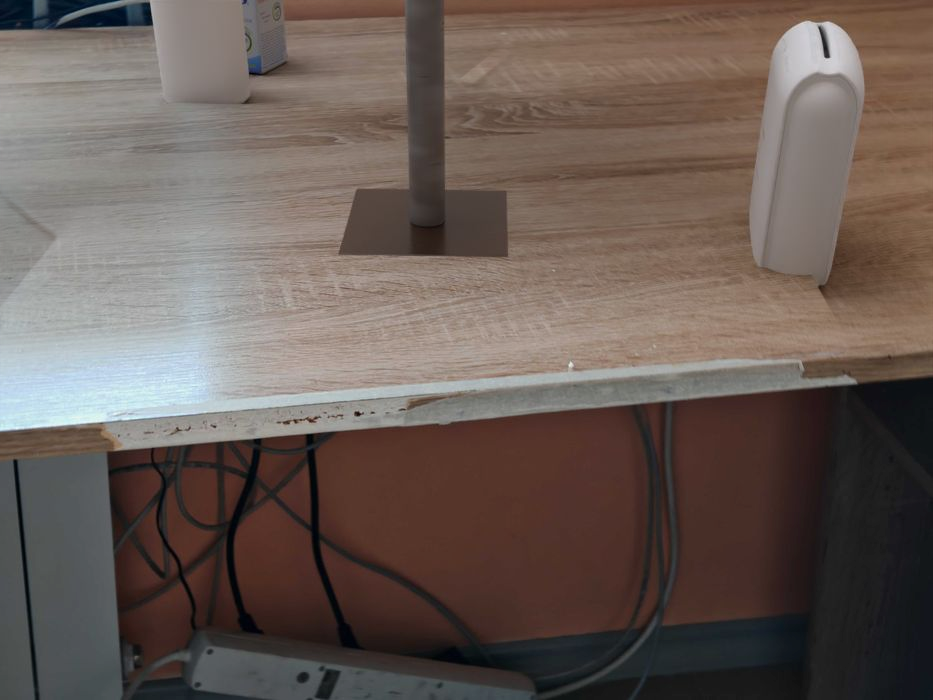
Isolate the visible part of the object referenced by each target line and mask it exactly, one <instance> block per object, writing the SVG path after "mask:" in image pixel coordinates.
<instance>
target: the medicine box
mask: <svg viewBox="0 0 933 700" xmlns="http://www.w3.org/2000/svg"><path fill="white" fill-rule="evenodd" d="M284 6H285V5H284V0H242V10H243V20H244V30H245V40H246V50H247V61H248V71H249V74H251V73H252V74H258V75H263V74H265V73H267V72H270V71H271V70H273V69H275V68H277V67H279V66H281V65H282V64H284V63H286V62H287V61H288V50H287V49H288V48H287V47H288V46H287V34H286V33H287V32H286V21H285V7H284Z"/></svg>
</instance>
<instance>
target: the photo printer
mask: <svg viewBox="0 0 933 700" xmlns="http://www.w3.org/2000/svg"><path fill="white" fill-rule="evenodd" d="M865 88H866V87H865V77H864V71H863V65H862V62H861V58H860V54H859V51H858V49H857V46H856V45H855V44H854V42H853V40H852V39H851V37H850V36H849V35H848V33H847V32H846V31H845V30H844V29H843V28H841V26H839V25H837V24H835V23H834V22H832V21H823V22H813V21H811V20H804V21H802V22H800V23H798V24H796V25H794V26H792V27H791V28H789V29H788V30H787V31H786V32H785V33H784V34H782V36H781V37H780V39H779V40H778V42H777V43H776V45H775V47H774V49H773V51H772V55H771V59H770V64H769V72H768V80H767V84H766V92H765V98H764V105H763V109H762V110H763V111H762V117H761V123H760V131H759V137H758V144H757V151H756V156H755V157H756V158H755V164H754V171H753V177H752V178H753V179H752V186H751V192H750V199H749V209H748V210H749V211H748V216H749V217H748V219H749V221H748V223H749V237H750V244H751V251H752V257H753V259H754V262H755V264H756V265H757V267H758V268H760V269H768V270H771V271H773V272H778V273H780V274H783V275H784V274H785V275H789V276H811V277H812V280H813V281H814V283H815V284H816V286H817V287H819V286H825V285H826V284H827V282H828V280H829V277H830V274H831V270H832V266H833V262H834V256H835V251H836V247H837V241H838V237H839V232H840V231H839V230H840V225H841V220H842V215H843V209H844V205H845V200H846V194H847V188H848V184H849V179H850V175H851V168H852V163H853V158H854V152H855V147H856V143H857V139H858V133H859V129H860V123H861V119H862V114H863V111H864V104H865V97H866V94H865V93H866V90H865Z"/></svg>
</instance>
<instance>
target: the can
mask: <svg viewBox="0 0 933 700" xmlns="http://www.w3.org/2000/svg"><path fill="white" fill-rule="evenodd" d="M149 4H150V5H149V6H150V12H151V19H152V27H153V34H154V40H155V47H156V54H157V61H158V62H157V63H158V68H159V74H160V81H161V89H162V94H163V99H164V102H165V103H166V104H204V105H205V104H206V105H207V104H211V105H212V104H214V105H223V104H224V105H245V103H247V101H248V99H249V98H250V96H251V85H250V84H251V83H250V72H249V71H248V61H247V50H246V40H245V30H244V20H243V10H242V0H149Z"/></svg>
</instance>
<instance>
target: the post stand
mask: <svg viewBox="0 0 933 700" xmlns="http://www.w3.org/2000/svg"><path fill="white" fill-rule="evenodd" d="M404 28H405V29H404V30H405V31H404V33H405V34H404V35H405V36H404V37H405V73H406V112H407V113H406V114H407V115H406V117H407V120H406V121H407V149H408V150H407V153H408V155H407V156H408V157H407V161H408V162H407V164H408V188H356V190H355V193H354V198H353V200H352V205H351V208H350V211H349V214H348V219H347V222H346V225H345V229H344V233H343V236H342V239H341V242H340V247H339V251H338V256H397V257H402V256H403V257H406V256H407V257H462V258H463V257H467V258H468V257H469V258H509V234H508V197H507V196H508V194H507V190H500V189H499V190H496V189H495V190H493V189H489V190H487V189H485V190H483V189H446V112H445V111H446V105H445V104H446V96H445V95H446V91H445V89H446V82H445V79H446V78H445V76H446V75H445V73H446V71H445V70H446V68H445V67H446V66H445V64H446V63H445V0H404Z"/></svg>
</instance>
